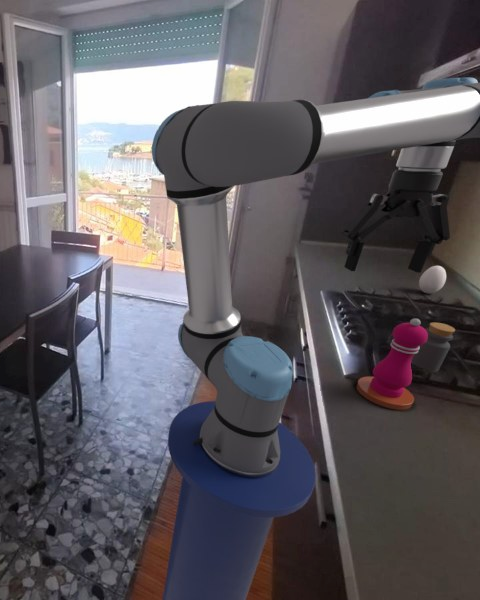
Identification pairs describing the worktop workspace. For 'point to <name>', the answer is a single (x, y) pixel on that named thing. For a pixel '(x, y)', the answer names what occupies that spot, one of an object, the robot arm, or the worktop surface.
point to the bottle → (434, 347)
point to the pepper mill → (399, 360)
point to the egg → (432, 279)
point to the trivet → (382, 400)
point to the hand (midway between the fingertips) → (381, 269)
